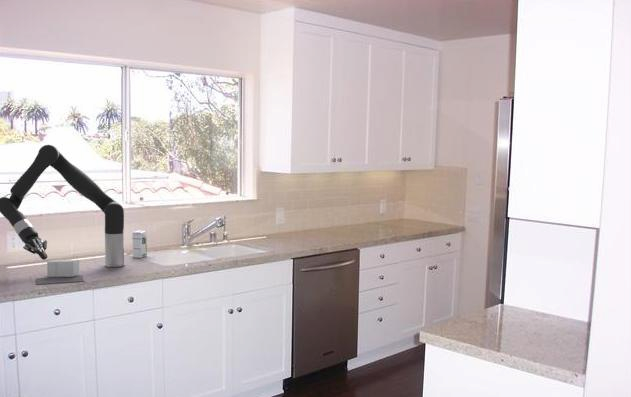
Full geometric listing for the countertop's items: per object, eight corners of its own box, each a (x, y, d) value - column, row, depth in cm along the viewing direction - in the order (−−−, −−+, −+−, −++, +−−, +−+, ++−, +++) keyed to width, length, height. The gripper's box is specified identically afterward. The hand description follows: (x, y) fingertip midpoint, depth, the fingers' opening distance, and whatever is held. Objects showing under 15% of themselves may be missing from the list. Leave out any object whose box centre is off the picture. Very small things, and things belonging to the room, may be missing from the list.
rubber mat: (82, 276, 283) (82, 275, 283) (83, 281, 272) (83, 280, 272) (36, 278, 275) (36, 278, 275) (35, 284, 264) (35, 284, 264)
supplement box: (53, 274, 284) (79, 275, 284) (46, 276, 277) (73, 277, 277) (53, 259, 284) (79, 259, 284) (46, 261, 277) (73, 261, 277)
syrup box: (141, 258, 328) (141, 232, 327) (132, 257, 329) (132, 231, 328) (146, 256, 334) (146, 230, 332) (137, 255, 335) (137, 230, 333)
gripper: (17, 227, 274) (38, 256, 271) (40, 224, 287) (60, 251, 283) (9, 238, 277) (29, 266, 274) (32, 234, 289) (52, 261, 286)
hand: (45, 258), depth 278 cm, fingers closed
